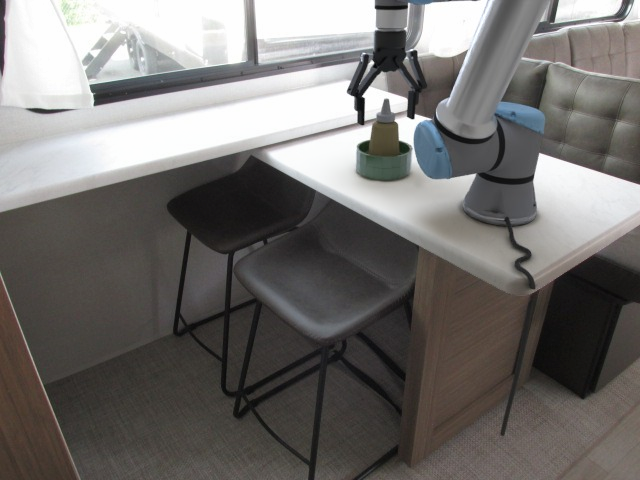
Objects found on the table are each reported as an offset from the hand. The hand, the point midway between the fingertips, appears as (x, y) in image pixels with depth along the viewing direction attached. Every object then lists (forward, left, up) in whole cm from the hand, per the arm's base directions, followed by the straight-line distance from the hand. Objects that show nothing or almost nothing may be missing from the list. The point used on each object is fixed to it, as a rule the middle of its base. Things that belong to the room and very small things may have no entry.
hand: (386, 121), depth 127 cm
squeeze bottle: (0, 0, -13) cm, 13 cm away
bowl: (0, 0, -13) cm, 13 cm away
